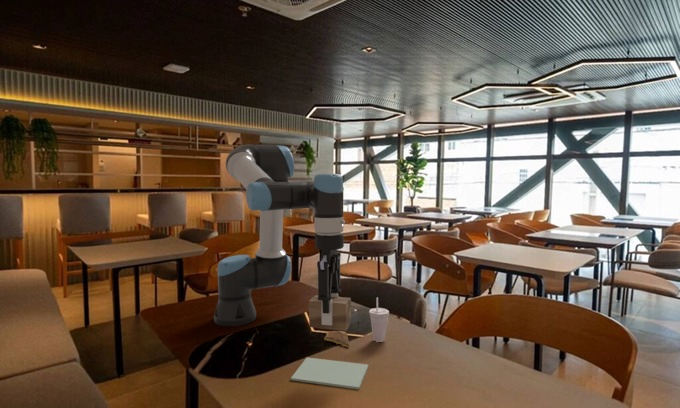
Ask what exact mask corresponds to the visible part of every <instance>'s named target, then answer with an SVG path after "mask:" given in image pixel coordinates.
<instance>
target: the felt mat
mask: <svg viewBox="0 0 680 408" xmlns="http://www.w3.org/2000/svg"><path fill="white" fill-rule="evenodd" d="M368 368H369V364H368V363H367V364H366V363H359V362H358V363H357V362H349V361H343V360H342V361H341V360H333V359H324V358H316V357H314V358H313V357H308V356H306V357H305V359H304V360H303V362H302V363H301V364H300V365H299V367H298V368H297V369H296V371H295V372H294V373H293V375H292V376H291V377H290V380H291V381H293V382H301V383H308V384H309V383H310V384H313V385H314V384H316V385H322V386H323V385H324V386H329V387H337V388H345V389H352V390H360V388H361V387H362V386H361V385H362V383H363V380H364V378H365V375H366V374H367V371H368Z"/></svg>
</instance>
